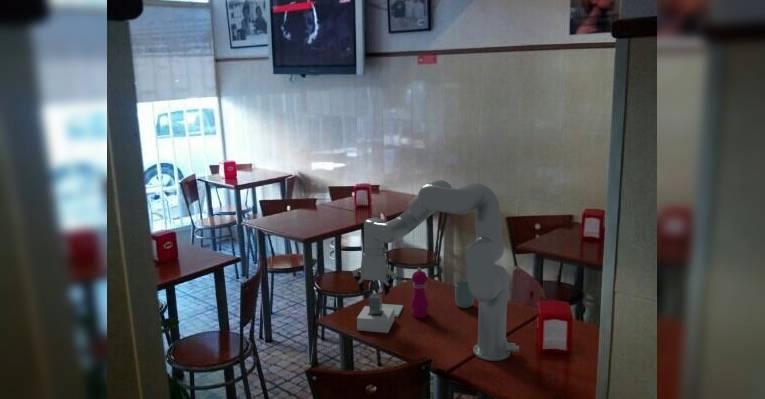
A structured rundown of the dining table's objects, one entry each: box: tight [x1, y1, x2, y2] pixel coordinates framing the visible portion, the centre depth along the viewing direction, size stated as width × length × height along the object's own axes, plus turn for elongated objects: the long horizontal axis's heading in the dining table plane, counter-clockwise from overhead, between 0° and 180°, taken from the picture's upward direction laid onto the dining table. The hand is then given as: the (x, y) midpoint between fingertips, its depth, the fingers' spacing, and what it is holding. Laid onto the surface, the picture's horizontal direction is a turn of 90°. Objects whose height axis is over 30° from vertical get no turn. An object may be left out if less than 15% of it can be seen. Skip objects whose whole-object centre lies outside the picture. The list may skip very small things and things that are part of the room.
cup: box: [454, 280, 475, 309], centre depth 241 cm, size 8×8×10 cm
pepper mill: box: [410, 267, 430, 319], centre depth 233 cm, size 7×7×20 cm
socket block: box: [356, 305, 395, 334], centre depth 225 cm, size 12×12×5 cm
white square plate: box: [382, 303, 404, 318], centre depth 239 cm, size 10×10×1 cm
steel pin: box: [368, 293, 383, 316], centre depth 225 cm, size 4×4×12 cm
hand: (374, 293), depth 223 cm, fingers open, 9 cm apart
